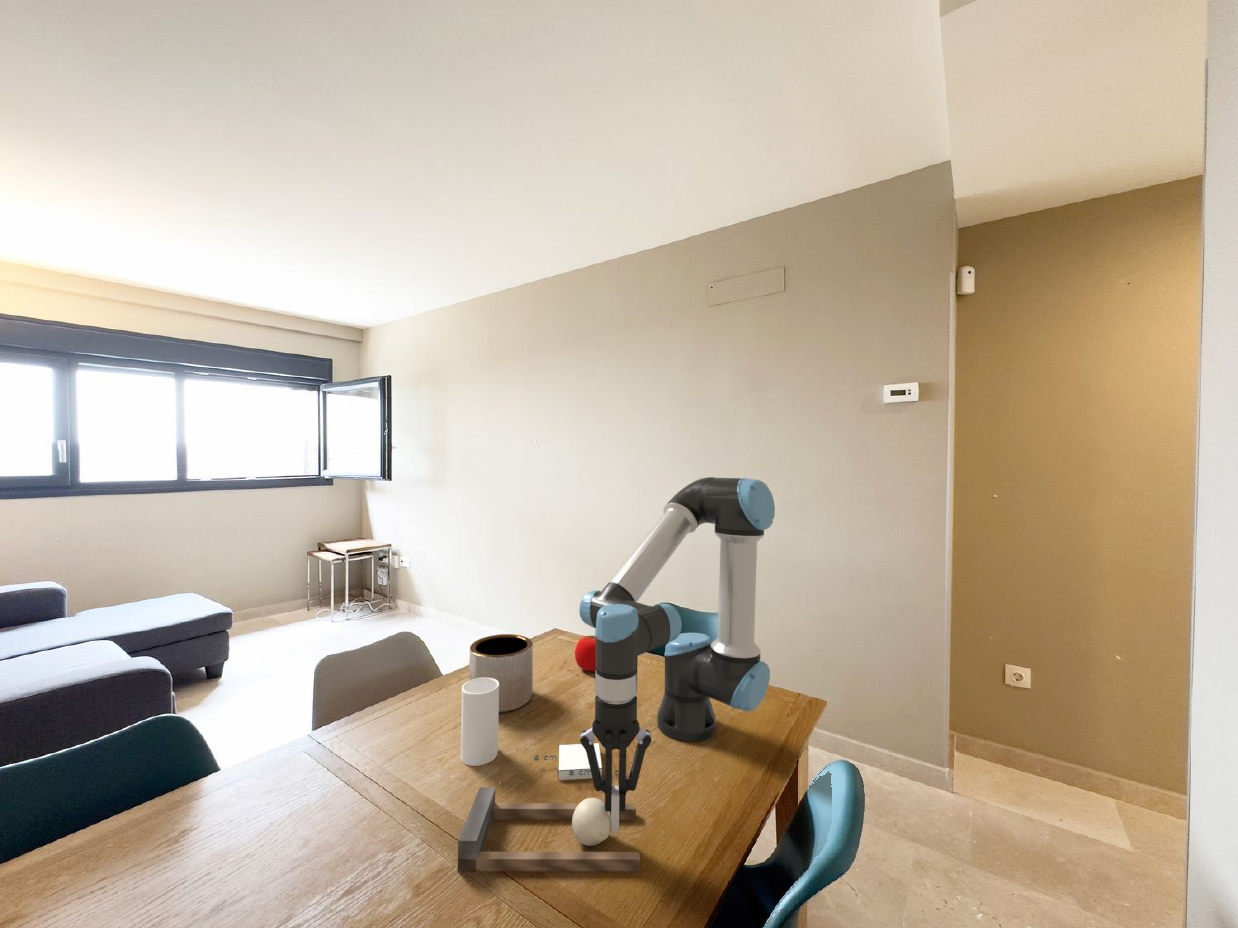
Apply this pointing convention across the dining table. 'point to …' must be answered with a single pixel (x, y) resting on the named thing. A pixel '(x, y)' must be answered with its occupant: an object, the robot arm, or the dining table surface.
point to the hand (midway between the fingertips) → (614, 827)
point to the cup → (479, 721)
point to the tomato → (586, 653)
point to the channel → (532, 861)
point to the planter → (505, 667)
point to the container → (575, 762)
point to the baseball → (591, 822)
